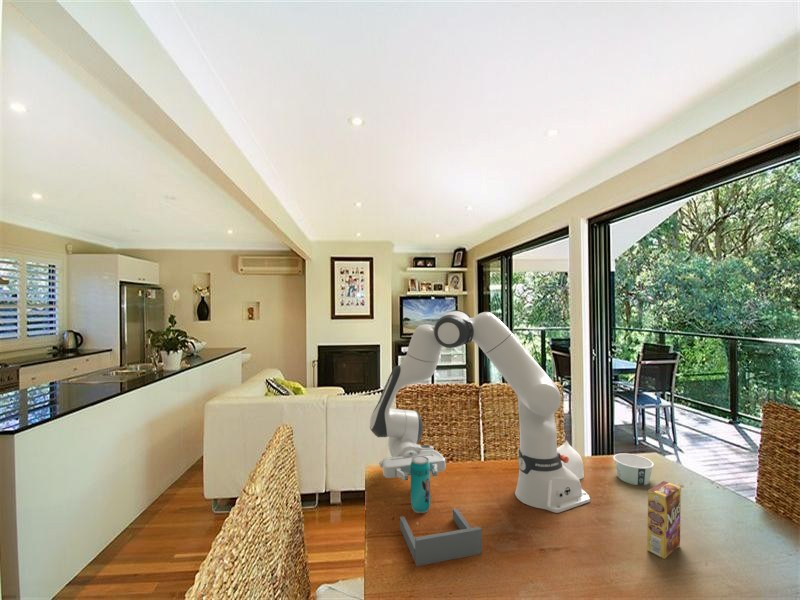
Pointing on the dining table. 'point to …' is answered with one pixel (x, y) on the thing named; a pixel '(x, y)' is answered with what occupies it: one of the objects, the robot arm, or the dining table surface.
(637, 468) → the food container
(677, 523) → the candy box
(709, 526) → the dining table surface
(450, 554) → the lane rack
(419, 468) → the beverage can
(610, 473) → the dining table surface
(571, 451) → the teardrop
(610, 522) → the dining table surface
